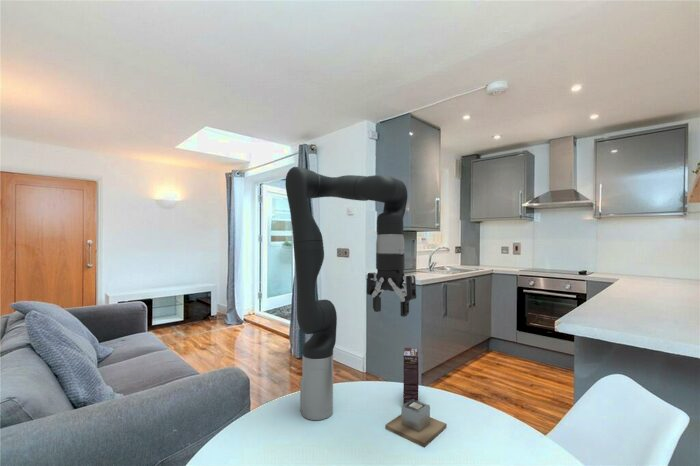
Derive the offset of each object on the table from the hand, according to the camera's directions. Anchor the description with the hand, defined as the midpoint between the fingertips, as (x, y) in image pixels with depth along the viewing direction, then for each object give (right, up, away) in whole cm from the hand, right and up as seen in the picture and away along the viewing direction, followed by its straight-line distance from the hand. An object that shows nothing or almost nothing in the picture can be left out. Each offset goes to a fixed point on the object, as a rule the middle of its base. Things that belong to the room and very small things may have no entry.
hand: (390, 313), depth 83 cm
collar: (+7, -31, +4) cm, 32 cm away
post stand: (+8, -32, +4) cm, 33 cm away
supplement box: (+9, -33, +19) cm, 39 cm away
